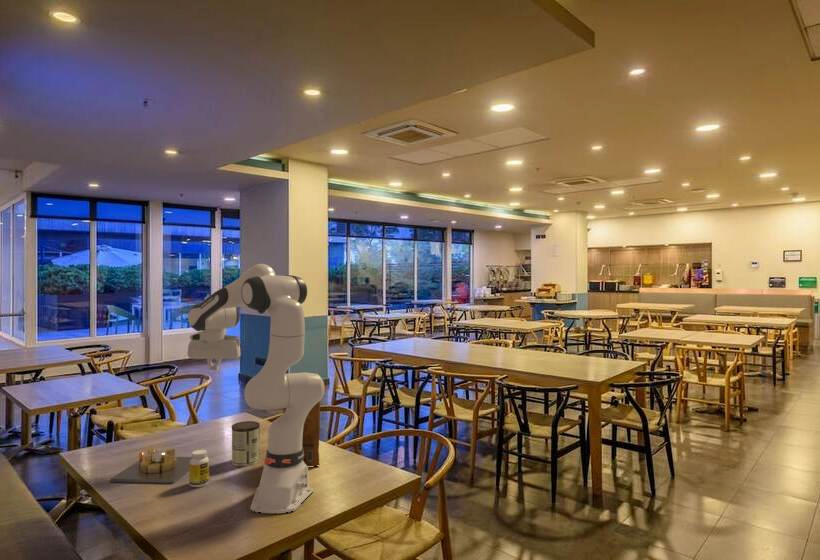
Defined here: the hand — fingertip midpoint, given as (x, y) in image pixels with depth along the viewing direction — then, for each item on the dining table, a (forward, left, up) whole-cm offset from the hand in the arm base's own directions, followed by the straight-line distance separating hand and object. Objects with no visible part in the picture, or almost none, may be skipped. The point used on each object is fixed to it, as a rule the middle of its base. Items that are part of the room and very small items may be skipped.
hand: (214, 369), depth 202 cm
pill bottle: (-29, -7, -34) cm, 45 cm away
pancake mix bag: (-8, -37, -34) cm, 51 cm away
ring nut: (-17, +14, -32) cm, 39 cm away
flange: (-18, +13, -34) cm, 40 cm away
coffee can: (-7, -15, -34) cm, 38 cm away
